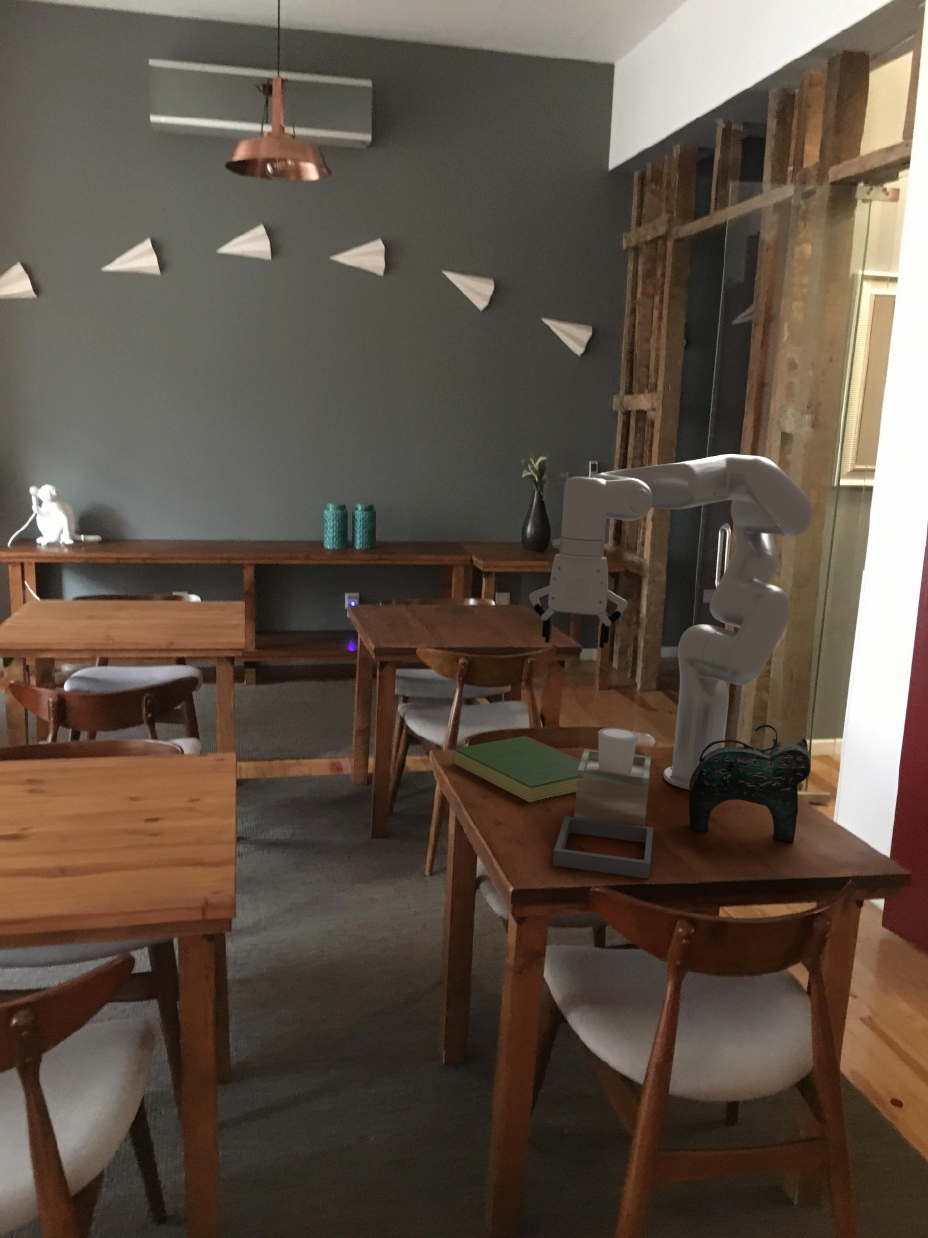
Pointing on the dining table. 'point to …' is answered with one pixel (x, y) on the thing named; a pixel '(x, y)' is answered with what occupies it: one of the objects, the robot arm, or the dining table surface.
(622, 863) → the dark grey square frame
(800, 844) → the dining table surface
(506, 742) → the hardcover book
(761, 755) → the ceramic cat
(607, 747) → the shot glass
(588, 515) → the robot arm
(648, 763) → the stand
